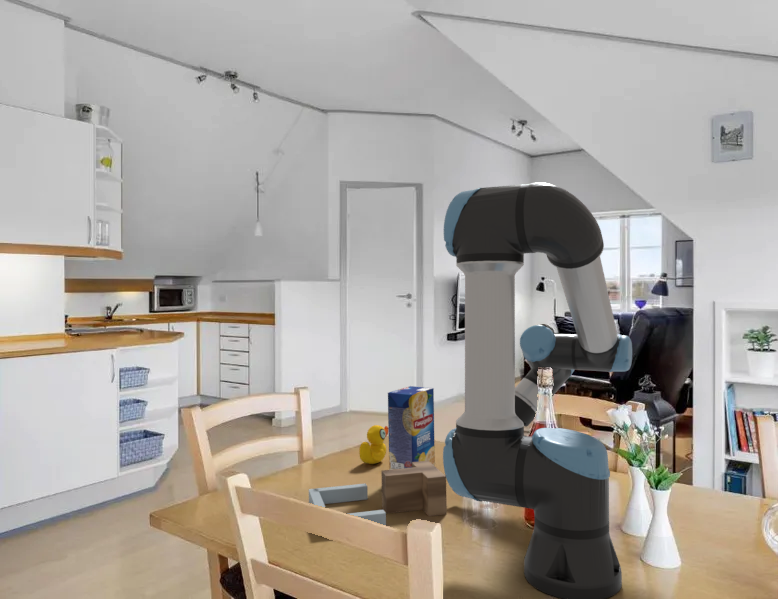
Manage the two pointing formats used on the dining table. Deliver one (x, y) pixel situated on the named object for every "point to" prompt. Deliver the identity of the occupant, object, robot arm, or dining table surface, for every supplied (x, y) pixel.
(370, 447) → the duckling
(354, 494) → the fence
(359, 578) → the dining table surface
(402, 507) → the t block
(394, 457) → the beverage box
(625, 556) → the dining table surface
